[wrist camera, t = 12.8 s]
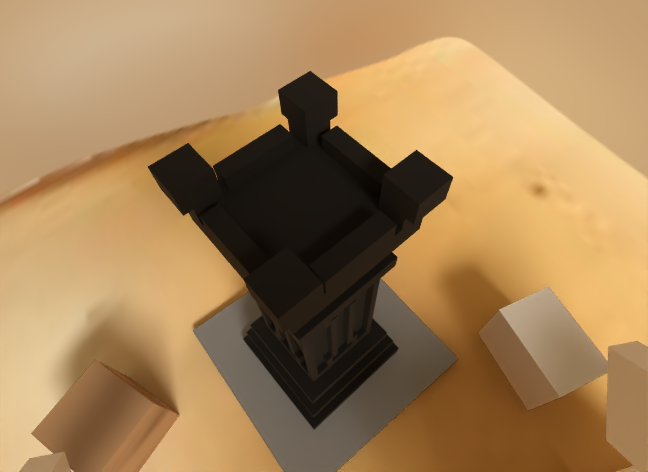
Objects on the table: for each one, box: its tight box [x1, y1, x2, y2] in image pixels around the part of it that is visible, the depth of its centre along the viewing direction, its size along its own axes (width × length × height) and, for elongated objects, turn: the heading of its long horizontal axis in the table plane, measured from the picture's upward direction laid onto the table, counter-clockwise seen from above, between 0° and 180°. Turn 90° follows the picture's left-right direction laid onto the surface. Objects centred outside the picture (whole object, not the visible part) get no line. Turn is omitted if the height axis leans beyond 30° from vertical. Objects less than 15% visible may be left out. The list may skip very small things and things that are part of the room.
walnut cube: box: [31, 360, 179, 472], centre depth 27 cm, size 5×5×5 cm
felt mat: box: [193, 278, 458, 472], centre depth 31 cm, size 14×14×1 cm
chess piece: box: [148, 71, 453, 430], centre depth 22 cm, size 8×8×20 cm
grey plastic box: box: [478, 287, 608, 410], centre depth 29 cm, size 6×4×5 cm, turn 24°
